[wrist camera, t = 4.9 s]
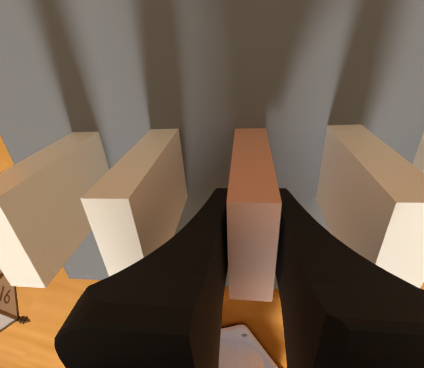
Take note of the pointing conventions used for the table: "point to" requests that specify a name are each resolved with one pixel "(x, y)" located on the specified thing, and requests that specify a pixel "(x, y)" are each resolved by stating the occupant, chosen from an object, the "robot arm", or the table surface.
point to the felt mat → (210, 83)
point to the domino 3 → (252, 217)
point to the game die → (9, 304)
